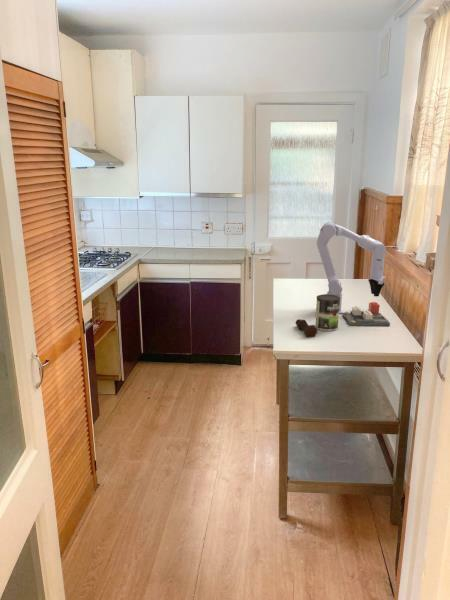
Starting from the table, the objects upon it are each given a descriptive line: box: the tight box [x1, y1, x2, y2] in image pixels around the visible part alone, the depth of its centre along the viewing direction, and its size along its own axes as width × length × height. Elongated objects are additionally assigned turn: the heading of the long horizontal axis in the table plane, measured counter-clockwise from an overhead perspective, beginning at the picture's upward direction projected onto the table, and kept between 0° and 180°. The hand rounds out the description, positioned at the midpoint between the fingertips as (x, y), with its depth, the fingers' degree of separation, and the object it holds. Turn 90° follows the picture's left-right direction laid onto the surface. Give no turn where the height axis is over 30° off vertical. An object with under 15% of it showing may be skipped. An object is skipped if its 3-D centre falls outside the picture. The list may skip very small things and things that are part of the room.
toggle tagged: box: [363, 310, 373, 320], centre depth 222 cm, size 3×5×4 cm, turn 179°
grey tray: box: [342, 310, 391, 327], centre depth 225 cm, size 18×15×2 cm
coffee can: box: [314, 293, 340, 332], centre depth 215 cm, size 10×10×14 cm
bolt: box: [295, 318, 318, 338], centre depth 211 cm, size 6×5×15 cm
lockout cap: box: [368, 301, 380, 313], centre depth 236 cm, size 4×4×6 cm
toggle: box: [351, 305, 362, 315], centre depth 228 cm, size 3×5×4 cm, turn 179°
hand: (375, 295), depth 234 cm, fingers open, 4 cm apart
